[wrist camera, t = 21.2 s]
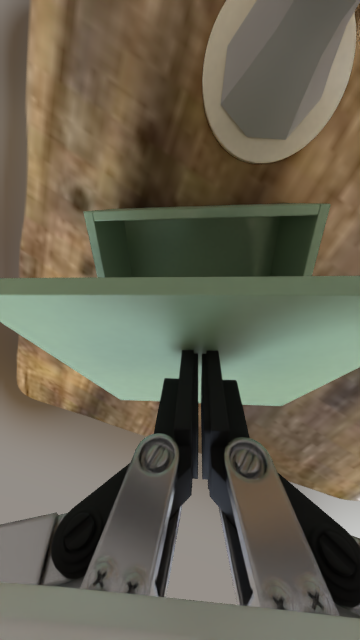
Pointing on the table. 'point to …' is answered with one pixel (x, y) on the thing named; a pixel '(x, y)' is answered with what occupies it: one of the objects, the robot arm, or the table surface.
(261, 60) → the flask
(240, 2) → the coaster
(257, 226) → the box
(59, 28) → the table surface
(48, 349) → the box lid
